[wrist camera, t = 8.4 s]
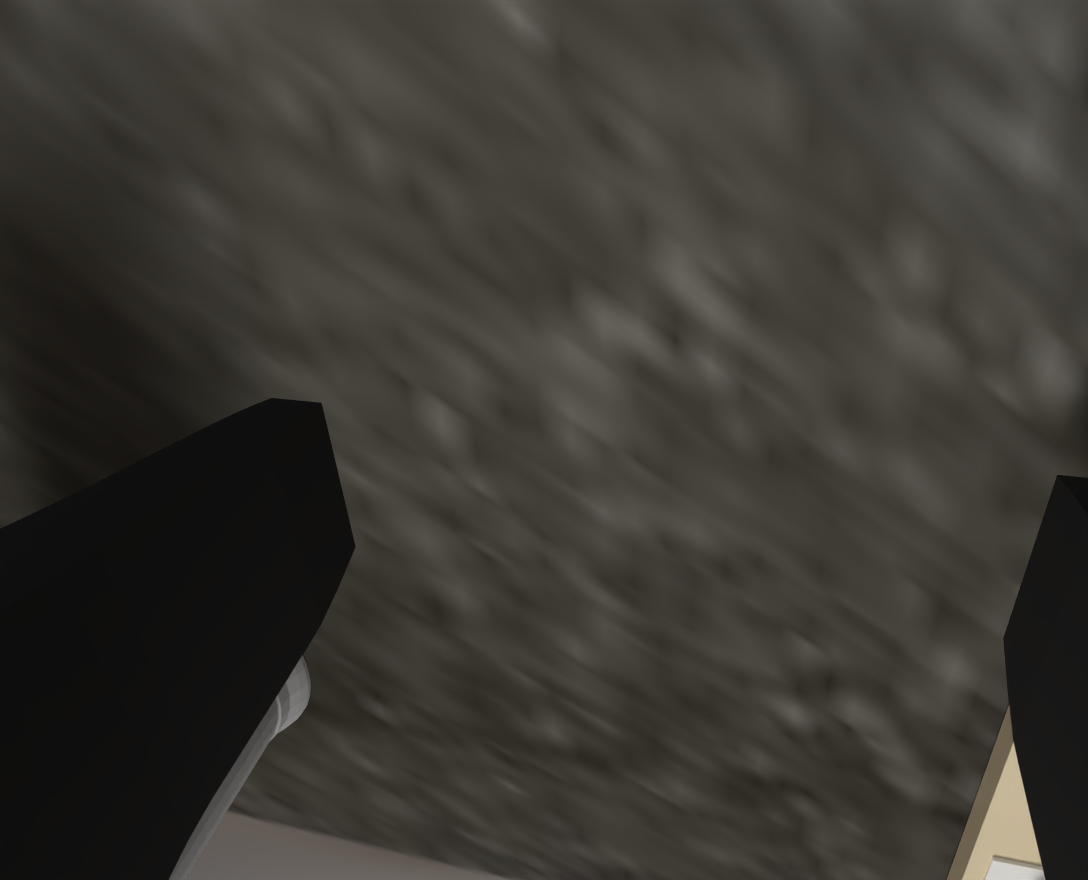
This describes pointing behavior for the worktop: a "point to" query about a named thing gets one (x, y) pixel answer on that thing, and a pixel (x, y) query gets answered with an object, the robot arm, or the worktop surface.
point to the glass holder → (247, 763)
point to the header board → (999, 823)
